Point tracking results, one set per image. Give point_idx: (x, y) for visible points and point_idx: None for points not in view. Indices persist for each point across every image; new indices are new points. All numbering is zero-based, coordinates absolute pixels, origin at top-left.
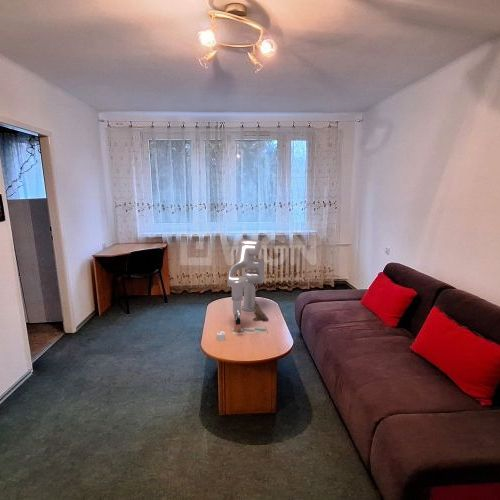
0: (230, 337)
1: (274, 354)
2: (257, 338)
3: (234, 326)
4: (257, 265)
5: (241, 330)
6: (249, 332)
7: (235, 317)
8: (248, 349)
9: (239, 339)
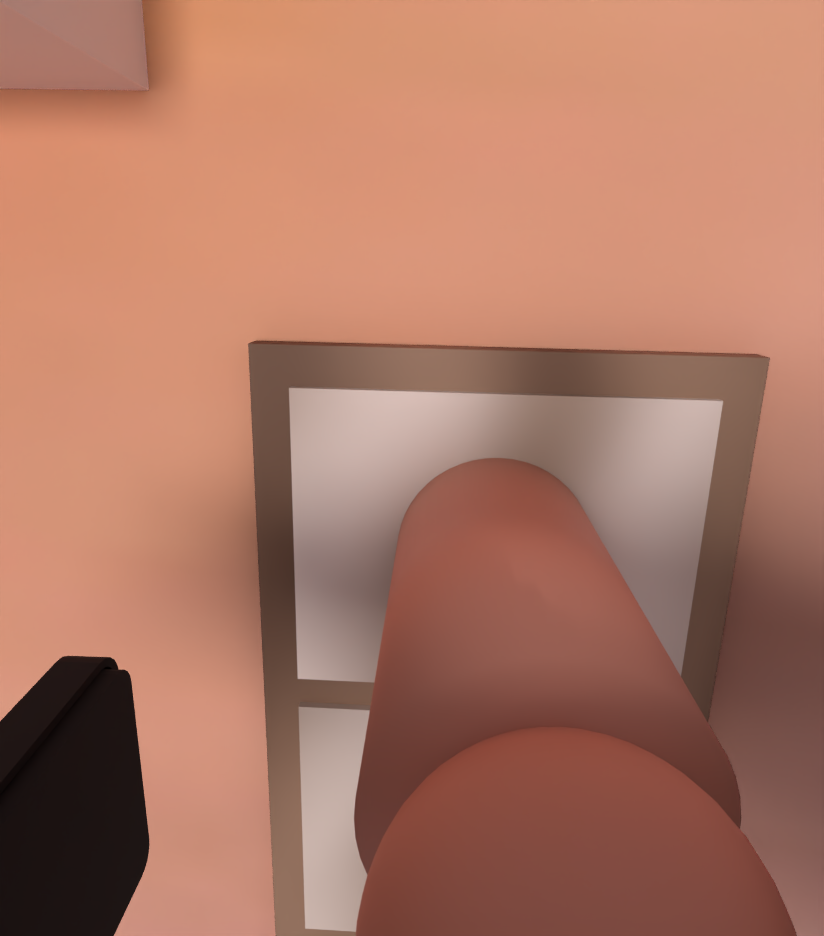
0: (181, 292)
1: None
2: None
3: (496, 518)
4: None
5: None
6: (352, 821)
7: (480, 928)
8: None
9: (52, 525)
